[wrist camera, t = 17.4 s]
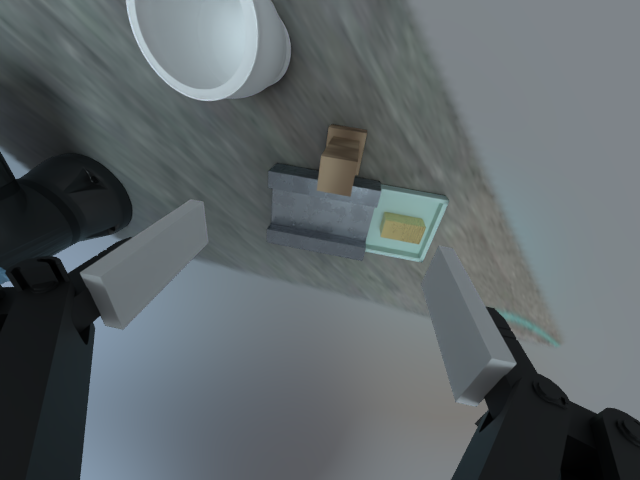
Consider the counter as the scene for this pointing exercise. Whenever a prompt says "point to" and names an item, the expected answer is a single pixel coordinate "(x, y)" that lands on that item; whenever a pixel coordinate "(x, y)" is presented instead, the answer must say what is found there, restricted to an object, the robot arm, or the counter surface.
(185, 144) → the counter surface
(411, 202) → the tray
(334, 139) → the stepped wooden block
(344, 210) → the slot board
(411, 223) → the yellow sponge cube
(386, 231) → the chip
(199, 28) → the jar
